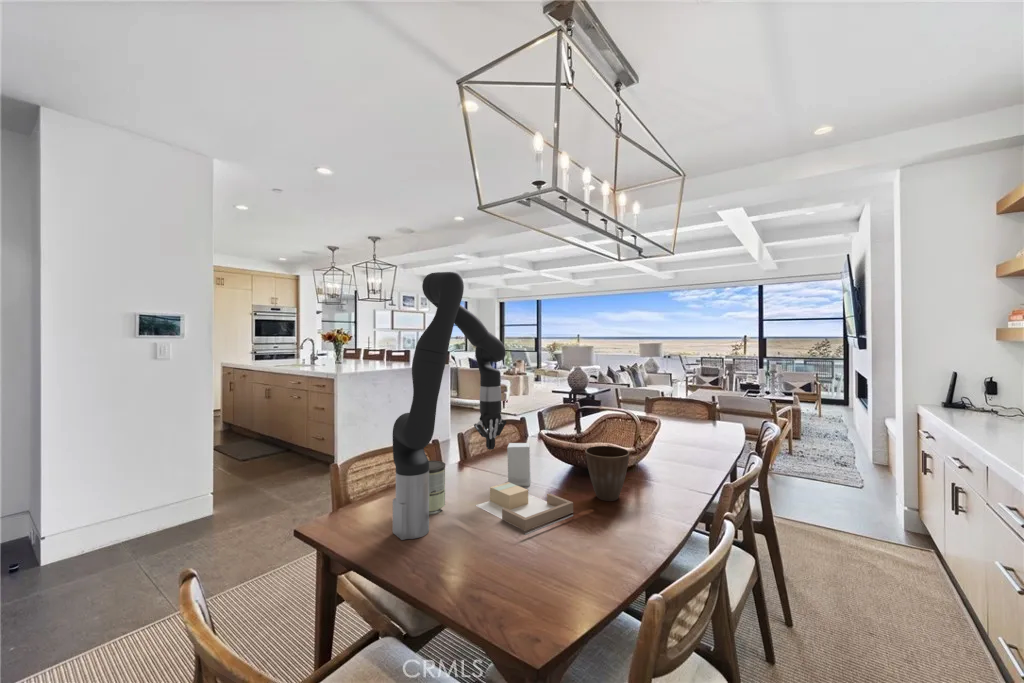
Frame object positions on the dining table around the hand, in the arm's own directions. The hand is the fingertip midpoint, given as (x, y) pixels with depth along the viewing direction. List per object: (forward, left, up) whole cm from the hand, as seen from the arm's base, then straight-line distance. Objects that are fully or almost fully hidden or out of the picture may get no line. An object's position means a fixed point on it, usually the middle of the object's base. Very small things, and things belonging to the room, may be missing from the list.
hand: (490, 448), depth 144 cm
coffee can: (-21, +5, -17) cm, 28 cm away
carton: (0, -10, -16) cm, 18 cm away
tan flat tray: (0, -17, -17) cm, 24 cm away
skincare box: (+15, +2, -17) cm, 23 cm away
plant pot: (+31, -26, -17) cm, 44 cm away
